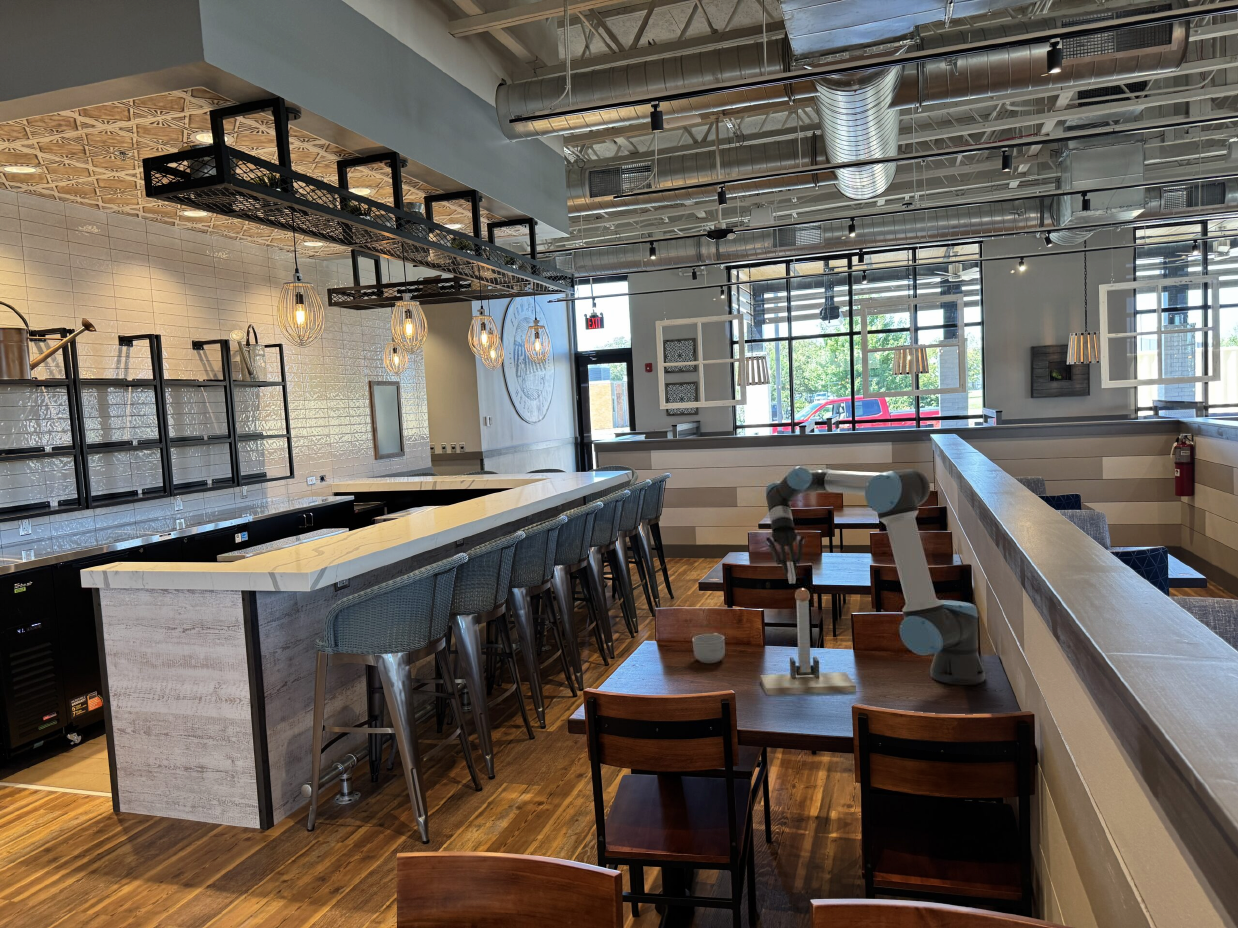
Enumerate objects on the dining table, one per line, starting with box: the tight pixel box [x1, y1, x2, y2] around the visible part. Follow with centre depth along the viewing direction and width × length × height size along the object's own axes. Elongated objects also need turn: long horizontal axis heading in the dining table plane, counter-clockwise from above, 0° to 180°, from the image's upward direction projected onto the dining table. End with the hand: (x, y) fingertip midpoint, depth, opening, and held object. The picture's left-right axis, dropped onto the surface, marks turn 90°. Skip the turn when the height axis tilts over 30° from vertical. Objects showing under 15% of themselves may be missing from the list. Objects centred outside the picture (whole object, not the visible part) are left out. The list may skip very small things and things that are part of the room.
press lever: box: [794, 587, 814, 676], centre depth 245 cm, size 5×4×27 cm
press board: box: [759, 656, 857, 696], centre depth 242 cm, size 26×12×8 cm, turn 88°
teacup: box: [691, 632, 726, 664], centre depth 273 cm, size 14×11×8 cm
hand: (792, 580), depth 260 cm, fingers closed
